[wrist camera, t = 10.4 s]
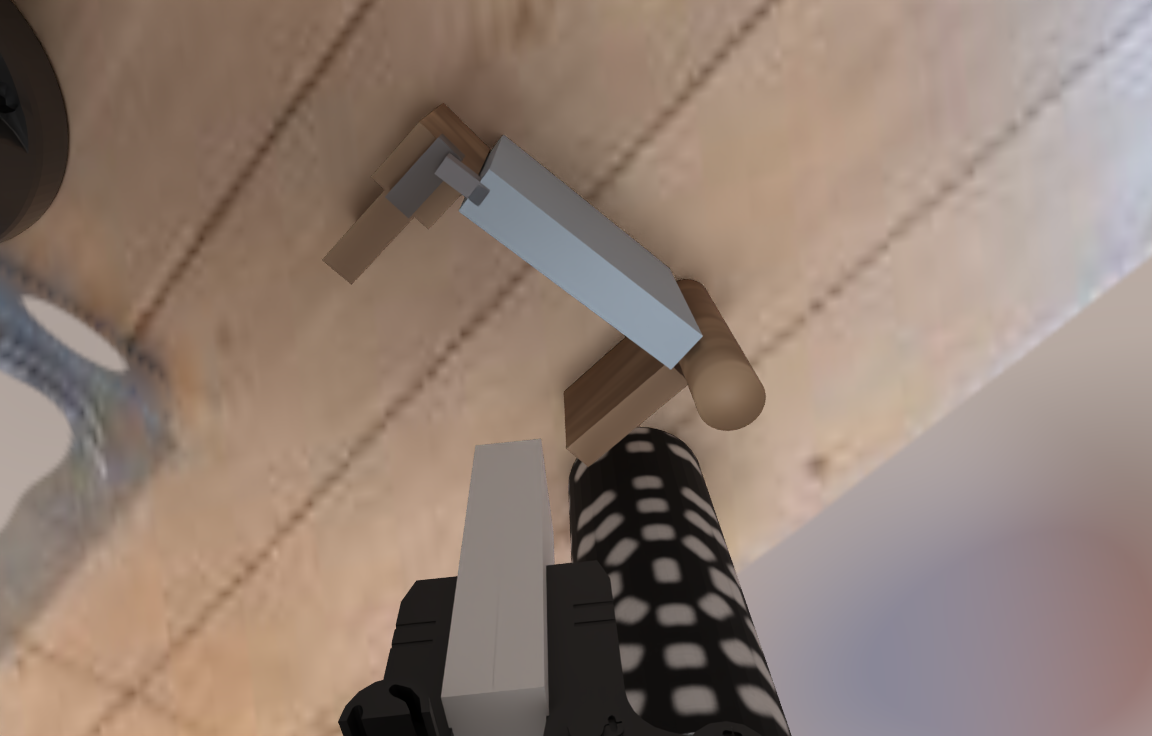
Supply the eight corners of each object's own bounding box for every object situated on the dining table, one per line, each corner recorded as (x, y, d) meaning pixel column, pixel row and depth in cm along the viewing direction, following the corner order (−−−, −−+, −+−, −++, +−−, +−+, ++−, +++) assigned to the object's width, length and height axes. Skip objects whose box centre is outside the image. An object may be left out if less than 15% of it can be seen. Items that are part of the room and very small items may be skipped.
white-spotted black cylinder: (565, 430, 42) (579, 737, 24) (704, 424, 42) (822, 725, 24) (570, 539, 45) (584, 877, 27) (697, 533, 46) (795, 865, 28)
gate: (669, 268, 37) (702, 336, 29) (644, 295, 38) (670, 369, 30) (477, 113, 34) (455, 143, 26) (453, 147, 34) (425, 186, 26)
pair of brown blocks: (344, 214, 36) (266, 288, 26) (484, 56, 33) (457, 71, 23) (582, 421, 41) (593, 546, 32) (719, 303, 38) (779, 400, 29)
